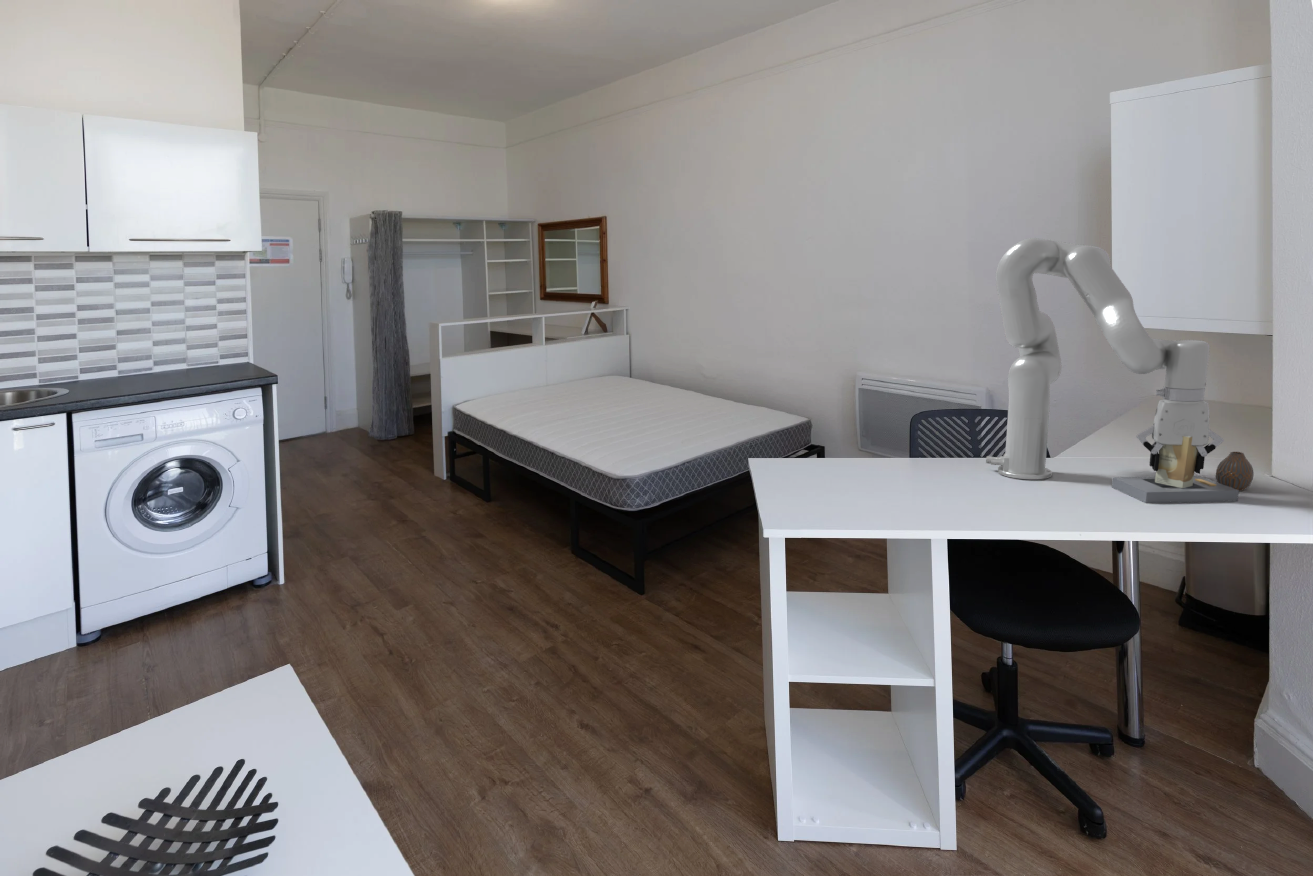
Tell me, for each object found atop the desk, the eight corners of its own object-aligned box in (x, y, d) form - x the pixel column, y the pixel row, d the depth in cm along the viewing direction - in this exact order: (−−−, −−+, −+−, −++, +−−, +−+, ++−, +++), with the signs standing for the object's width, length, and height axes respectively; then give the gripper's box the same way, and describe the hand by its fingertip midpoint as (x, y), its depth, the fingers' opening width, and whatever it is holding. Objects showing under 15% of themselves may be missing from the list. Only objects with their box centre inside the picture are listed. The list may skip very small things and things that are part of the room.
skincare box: (1153, 483, 167) (1159, 432, 165) (1164, 480, 169) (1169, 429, 167) (1184, 489, 161) (1190, 436, 159) (1194, 486, 163) (1200, 434, 161)
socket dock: (1145, 503, 160) (1147, 491, 159) (1111, 487, 173) (1112, 476, 172) (1237, 501, 159) (1239, 489, 159) (1196, 485, 172) (1197, 474, 171)
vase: (1221, 491, 166) (1225, 455, 165) (1209, 484, 173) (1213, 448, 171) (1256, 493, 164) (1262, 456, 162) (1243, 485, 170) (1248, 450, 169)
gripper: (1140, 396, 162) (1133, 472, 165) (1236, 398, 154) (1226, 477, 158) (1135, 392, 168) (1128, 464, 172) (1226, 393, 161) (1217, 469, 164)
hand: (1175, 470), depth 165 cm, fingers closed on skincare box, 7 cm apart
